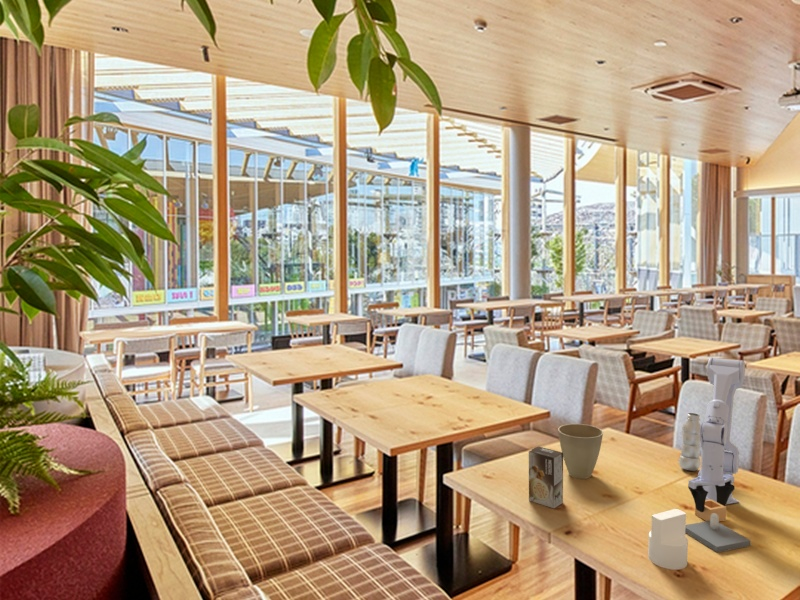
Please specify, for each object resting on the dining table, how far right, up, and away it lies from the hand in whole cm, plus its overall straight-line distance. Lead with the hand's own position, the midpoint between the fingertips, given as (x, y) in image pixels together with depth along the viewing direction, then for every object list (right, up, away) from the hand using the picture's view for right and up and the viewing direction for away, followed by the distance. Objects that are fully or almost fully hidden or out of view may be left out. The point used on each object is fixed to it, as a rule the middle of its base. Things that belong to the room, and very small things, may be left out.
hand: (710, 508), depth 168 cm
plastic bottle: (+12, +1, +36) cm, 38 cm away
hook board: (-5, -4, -11) cm, 13 cm away
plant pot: (-28, 0, +33) cm, 43 cm away
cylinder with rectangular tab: (-23, -5, -22) cm, 32 cm away
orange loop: (0, -3, 0) cm, 3 cm away
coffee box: (-45, -2, +12) cm, 47 cm away
